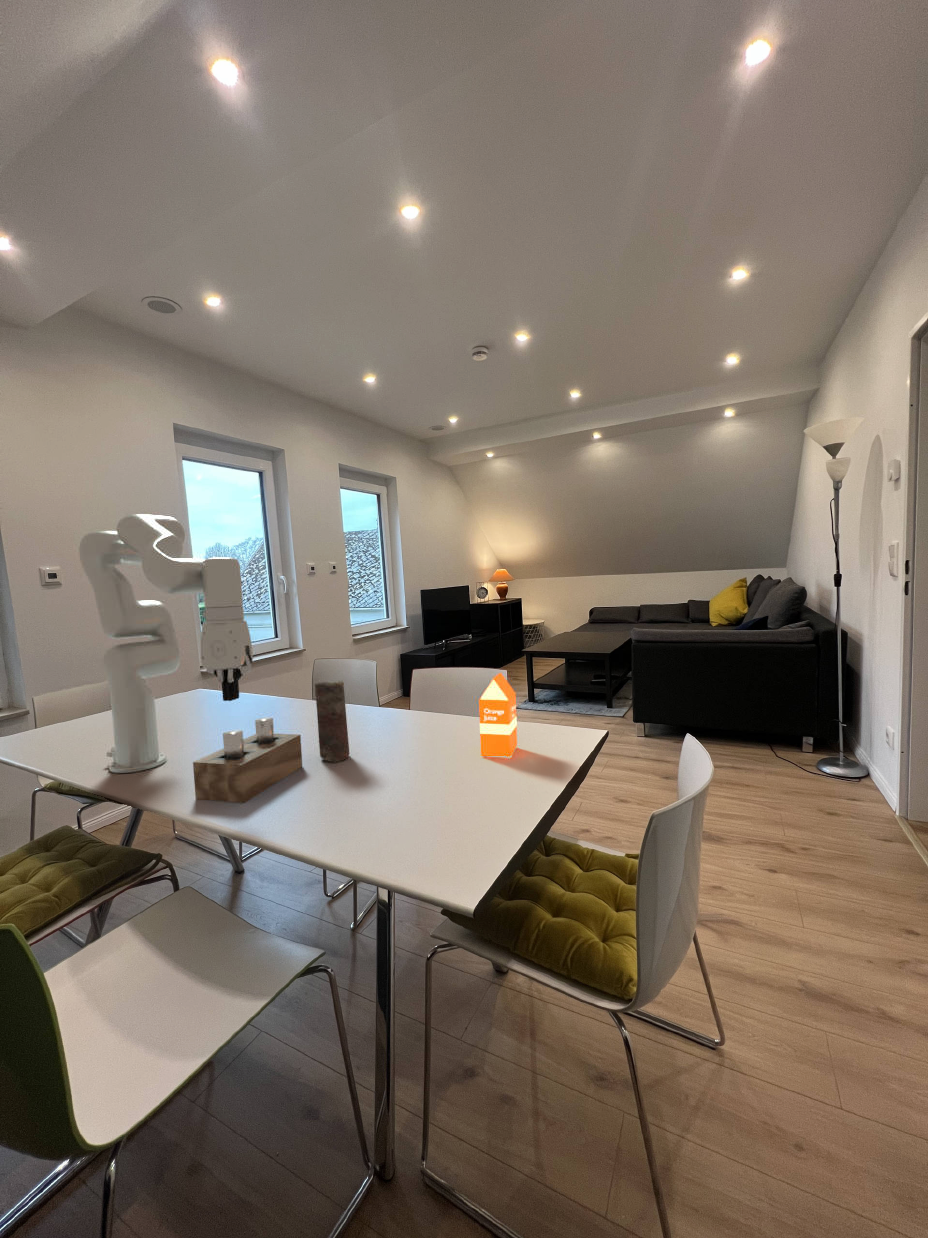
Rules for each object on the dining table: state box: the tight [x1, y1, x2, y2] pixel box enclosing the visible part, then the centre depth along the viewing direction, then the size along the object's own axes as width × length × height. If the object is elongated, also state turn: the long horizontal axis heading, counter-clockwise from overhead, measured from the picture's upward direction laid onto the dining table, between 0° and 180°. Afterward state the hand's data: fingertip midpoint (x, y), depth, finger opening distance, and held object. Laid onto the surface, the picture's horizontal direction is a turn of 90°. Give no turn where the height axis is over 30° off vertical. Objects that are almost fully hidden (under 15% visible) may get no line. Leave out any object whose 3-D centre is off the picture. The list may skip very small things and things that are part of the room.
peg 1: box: [222, 729, 244, 759], centre depth 117 cm, size 4×4×7 cm
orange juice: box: [478, 672, 518, 757], centre depth 137 cm, size 8×9×20 cm
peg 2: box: [254, 717, 275, 744], centre depth 128 cm, size 4×4×7 cm
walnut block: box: [192, 733, 303, 804], centre depth 123 cm, size 12×22×8 cm, turn 165°
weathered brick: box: [314, 680, 350, 763], centre depth 137 cm, size 8×7×20 cm
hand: (231, 699), depth 116 cm, fingers closed
